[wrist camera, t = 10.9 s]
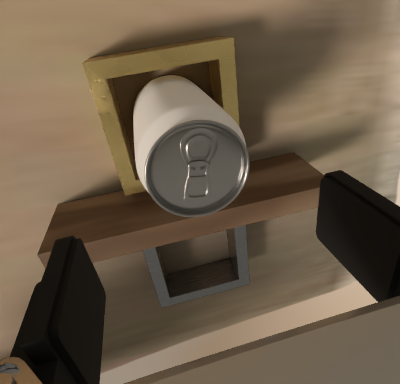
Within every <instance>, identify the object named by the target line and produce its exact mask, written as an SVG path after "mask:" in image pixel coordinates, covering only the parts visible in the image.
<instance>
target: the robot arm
mask: <svg viewBox="0 0 400 384" xmlns="http://www.w3.org/2000/svg"><path fill="white" fill-rule="evenodd" d="M316 235H317V237H318V239H319V240H320V241H321V242H322V243H323V245H324V246H325V247H326V248H327V249H328V250H329V251H330V252H331V253H332V254H333V255H334V256H335V257H336V258H337V259H338V260H339V261H340V263H341V264H342V265H343V266H344V267H345V268H346V269H347V270H348V271H349V272H350V273H351V274H352V275H353V276H354V277H355V278H356V279H357V281H359V283H360V284H361V285H362V286H363V287H364V288H365V289H366V290H367V291H368V292H369V293H370V294H371V295H372V296H373V297H374V298H375V299H376V301H378V303H375V304H371V305H368V306H365V307H362V308H359V309H355V310H352V311H349V312H346V313H343V314H339V315H336V316H333V317H330V318H326V319H323V320H320V321H317V322H314V323H310V324H307V325H304V326H301V327H298V328H294V329H291V330H288V331H285V332H282V333H278V334H275V335H272V336H269V337H266V338H263V339H259V340H257V341H254V342H250V343H247V344H244V345H241V346H237V347H234V348H231V349H228V350H225V351H222V352H219V353H216V354H212V355H209V356H206V357H203V358H200V359H197V360H194V361H191V362H188V363H185V364H181V365H178V366H175V367H172V368H169V369H166V370H163V371H160V372H157V373H154V374H151V375H148V376H145V377H142V378H139V379H136V380H133V381H130V382H127V383H124V384H400V207H399V206H398V205H396V204H394V203H393V202H391V201H390V200H388V199H386V198H385V197H383V196H382V195H380V194H378V193H377V192H375V191H374V190H372V189H371V188H369V187H367V186H366V185H364V184H363V183H361V182H359V181H358V180H356V179H355V178H353V177H351V176H350V175H348V174H347V173H345V172H343V171H341V170H338V171H334V172H330V173H326V174H325V175H324V178H322V179H321V181H320V191H319V203H318V214H317V226H316ZM105 301H106V296H105V291H104V288H103V286H102V283H101V281H100V279H99V277H98V275H97V272H96V270H95V268H94V266H93V264H92V261H91V259H90V257H89V255H88V252H87V250H86V248H85V246H84V244H83V241H82V240H81V238H77V239H76V238H75V237H74V236H73V235H72V236H68V237H64V238H60V239H57V240H55V242H54V245H53V248H52V251H51V254H50V257H49V260H48V263H47V266H46V269H45V272H44V275H43V278H42V281H41V282H39V283H38V284H36V286H35V288H34V291H33V294H32V296H31V299H30V302H29V305H28V308H27V310H26V313H25V316H24V319H23V322H22V324H21V327H20V330H19V333H18V335H17V338H16V341H15V344H14V347H13V349H12V352H11V355H10V357H9V358H5V359H2V360H0V384H99V382H100V369H101V355H102V342H103V328H104V315H105Z"/></svg>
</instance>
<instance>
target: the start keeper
mask: <svg viewBox="0 0 400 384" xmlns="http://www.w3.org/2000/svg"><path fill="white" fill-rule="evenodd" d="M227 237H228V246H229V255H230V258H229V259H226V260H222V261H218V262H214V263H210V264H206V265H202V266H198V267H195V268H191V269H187V270H183V271H179V272H175V273H171V274H168V275H166V272H165V268H164V265H163V261H162V257H161V254H160V250H159V247H154V248H150V249H146V250H143V253H144V256H145V259H146V262H147V265H148V268H149V271H150V274H151V278H152V281H153V284H154V287H155V290H156V293H157V296H158V299H159V302H160V305H161V308H163V307H167V306H170V305H174V304H178V303H181V302H185V301H189V300H192V299H196V298H200V297H204V296H207V295H211V294H215V293H218V292H222V291H226V290H229V289H233V288H237V287H240V286H244V285H248V284H250V283H249V267H248V251H247V236H246V225H243V226H239V227H235V228H231V229H227Z"/></svg>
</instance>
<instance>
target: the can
mask: <svg viewBox="0 0 400 384" xmlns="http://www.w3.org/2000/svg"><path fill="white" fill-rule="evenodd" d="M133 127H134V149H135V162H136V169H137V173H138V176H139V178H140V181H141V183H142V184H143V186H144V188H145V189H146V190H147V191H148V193H149V194H150V195H151V197H152V198H153V200H154V201H155V202H156V203H157V204H158V205H159V206H160V207H161V208H163V209H164V210H166V211H168V212H170V213H172V214H175V215H178V216H182V217H202V216H206V215H210V214H213V213H215V212H217V211H219V210H221V209H223V208H224V207H226V206H227V205H229V204H230V203H231V202H232V201H233V200H234V199H235V198H236V197H237V196H238V195H239V193H240V192H241V190H242V189H243V187H244V185H245V183H246V180H247V177H248V173H249V165H250V163H249V155H248V151H247V148H246V143H245V139H244V136H243V133H242V131H241V129H240V128H239V126H238V125H237V123H236V122H235V121H234V119H233V118H232V117H231V116H230V115H229V114H228V113H227V112H226V111H224V110H223V109H222V108H221V107H220V106H219V105H218V104H217V103H216V102H215V101H214V100H212V99H211V98H210V97H209V96H208V95H207V94H206V93H205V92H203V91H202V90H201V89H200V88H199V87H198V86H196V85H195V84H194V83H193V82H191V81H190V80H188V79H186V78H184V77H181V76H176V75H168V76H162V77H158V78H156V79H153V80H152V81H150V82H149V83H147V84H146V85H145V86H144V87H143V88H142V89H141V91H140V92H139V94H138V96H137V98H136V100H135V104H134V109H133Z"/></svg>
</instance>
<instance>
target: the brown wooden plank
mask: <svg viewBox="0 0 400 384" xmlns="http://www.w3.org/2000/svg"><path fill="white" fill-rule="evenodd" d="M249 163H250V165H249V173H248V177H247V180H246V183H245V185H244V187H243V189H242V190H241V192H240V193H239V195H238V196H237V197H236V198H235V199H234V200H233V201H232V202H231V203H230V204H229V205H227V206H226V207H224V208H223V209H221V210H219V211H217V212H215V213H213V214H210V215H206V216H202V217H182V216H178V215H175V214H172V213H170V212H168V211H166V210H164V209H163V208H161V207H160V206H159V205H158V204H157V203H156V202H155V201H154V200H153V198H152V197H151V195H150V194H149V193H148V191H144V192H140V193H135V194H131V195H126V196H125V194H124V191H123V190H122V191H118V192H113V193H109V194H104V195H99V196H95V197H90V198H86V199H81V200H77V201H72V202H68V203H63V204H59V205H57V208H56V210H55V213H54V215H53V217H52V220H51V222H50V225H49V227H48V230H47V232H46V235H45V237H44V240H43V242H42V244H41V247H40V249H39V252H38V254H37V255H38V257H39V258H40V260H41V262H42V263H43V265H44V267H45V268H46V266H47V263H48V260H49V257H50V254H51V251H52V248H53V245H54V242H55V240H57V239H60V238H64V237H68V236H72V235H73V236H74V237H75V238H76V239H77V238H81V240H82V241H83V244H84V246H85V248H86V250H87V252H88V255H89V257H90V259H91V261H92V263H93V262H97V261H101V260H105V259H109V258H113V257H117V256H121V255H125V254H129V253H134V252H138V251H142V250H146V249H150V248H154V247H158V246H162V245H166V244H170V243H174V242H178V241H182V240H186V239H190V238H194V237H199V236H203V235H207V234H211V233H215V232H219V231H223V230H227V229H231V228H235V227H239V226H243V225H247V224H251V223H255V222H259V221H263V220H268V219H272V218H276V217H280V216H284V215H288V214H292V213H296V212H300V211H304V210H308V209H312V208H316V207H318V203H319V191H320V181H321V179H322V178H324V175H323V174H322V173H320V172H319V171H318V170H316V169H315V168H314V167H312V166H311V165H310V164H308V163H307V162H306V161H305V160H303V159H302V158H301V157H299V156H298V155H297V154H295V153H289V154H285V155H280V156H276V157H271V158H267V159H262V160H258V161H253V162H249Z"/></svg>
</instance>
